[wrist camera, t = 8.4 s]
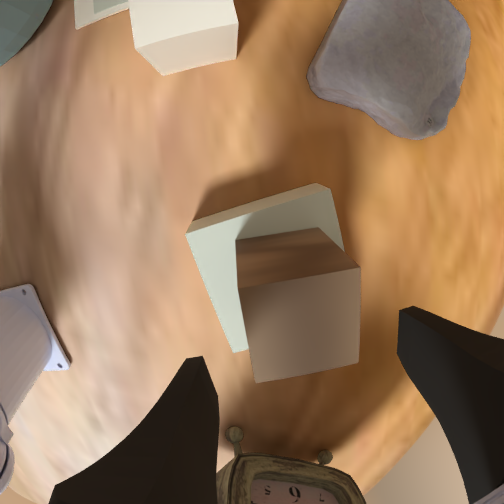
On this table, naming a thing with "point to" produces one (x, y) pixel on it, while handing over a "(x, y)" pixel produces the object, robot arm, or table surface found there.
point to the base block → (246, 226)
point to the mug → (19, 24)
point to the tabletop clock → (282, 479)
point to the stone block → (394, 62)
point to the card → (96, 10)
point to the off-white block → (184, 32)
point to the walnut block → (298, 303)
